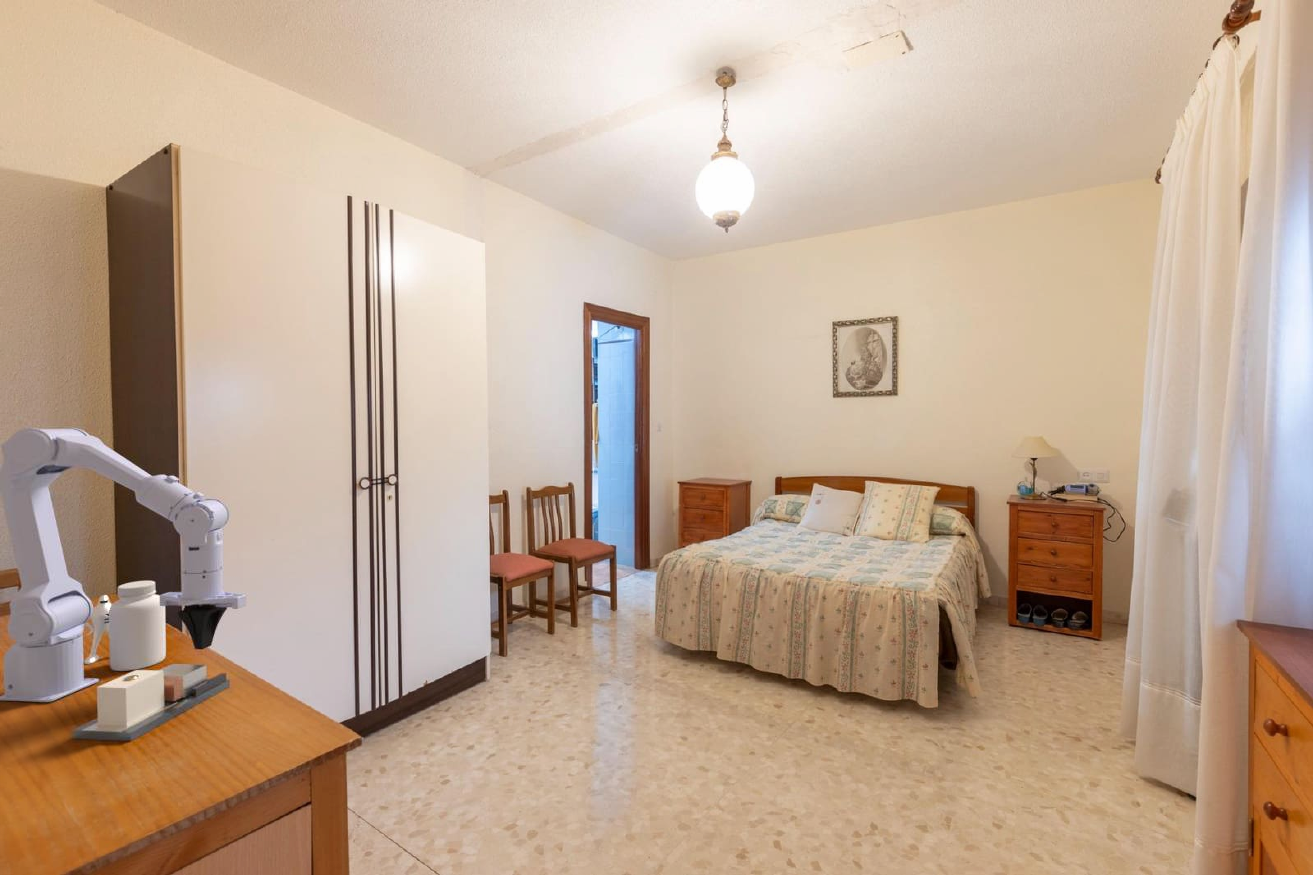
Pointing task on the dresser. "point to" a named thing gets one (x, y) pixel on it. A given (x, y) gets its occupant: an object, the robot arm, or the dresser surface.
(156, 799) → the dresser surface
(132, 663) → the pill bottle
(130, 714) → the block
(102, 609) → the figurine
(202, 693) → the base plate
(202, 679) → the block
